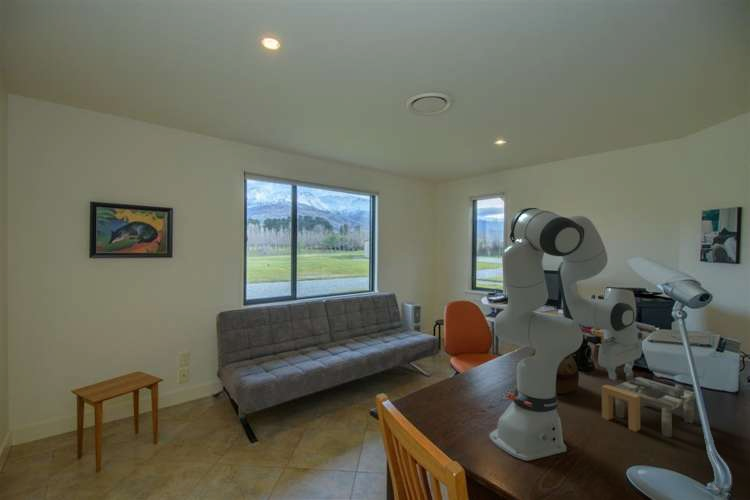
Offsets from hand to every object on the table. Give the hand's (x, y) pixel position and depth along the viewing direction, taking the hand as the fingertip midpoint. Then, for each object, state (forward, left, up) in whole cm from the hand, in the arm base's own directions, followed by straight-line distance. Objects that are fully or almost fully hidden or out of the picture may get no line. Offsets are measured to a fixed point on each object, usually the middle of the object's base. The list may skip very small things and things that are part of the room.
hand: (620, 375), depth 109 cm
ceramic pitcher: (+7, +29, -16) cm, 34 cm away
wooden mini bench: (0, 0, -16) cm, 16 cm away
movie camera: (+39, +42, -16) cm, 60 cm away
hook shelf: (+13, -4, -16) cm, 21 cm away
